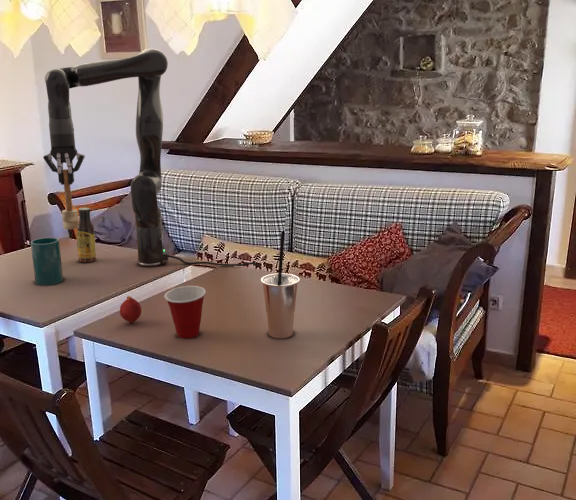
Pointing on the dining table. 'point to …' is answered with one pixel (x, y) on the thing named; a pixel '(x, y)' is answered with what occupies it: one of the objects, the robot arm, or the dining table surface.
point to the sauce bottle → (85, 237)
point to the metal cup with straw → (280, 299)
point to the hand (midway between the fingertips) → (66, 184)
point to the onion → (130, 310)
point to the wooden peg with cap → (69, 206)
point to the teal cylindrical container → (47, 261)
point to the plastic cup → (186, 309)
